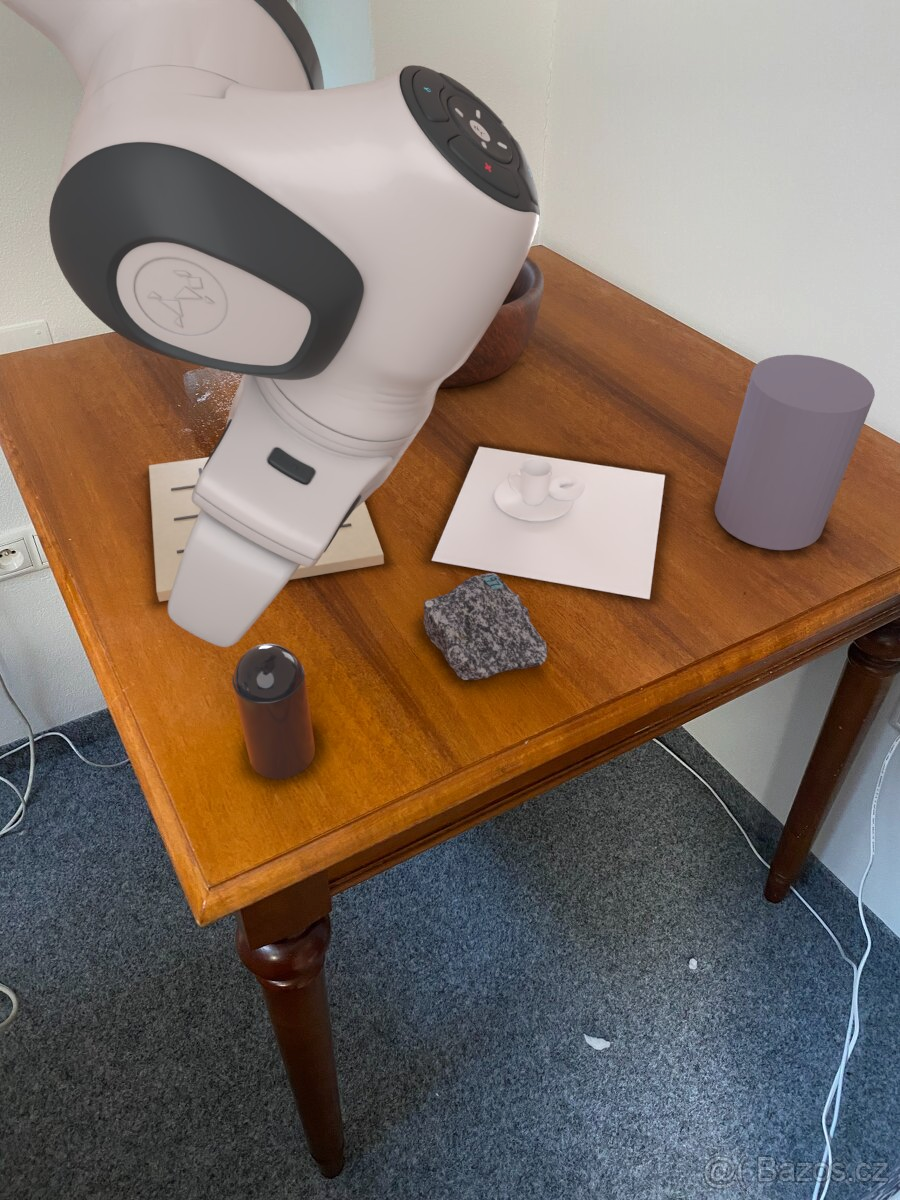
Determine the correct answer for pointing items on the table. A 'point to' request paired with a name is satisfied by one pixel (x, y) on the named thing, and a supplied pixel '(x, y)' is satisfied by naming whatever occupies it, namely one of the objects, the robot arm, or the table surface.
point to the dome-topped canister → (274, 711)
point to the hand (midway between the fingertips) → (245, 559)
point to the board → (180, 513)
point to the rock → (483, 629)
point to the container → (791, 450)
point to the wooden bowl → (504, 331)
